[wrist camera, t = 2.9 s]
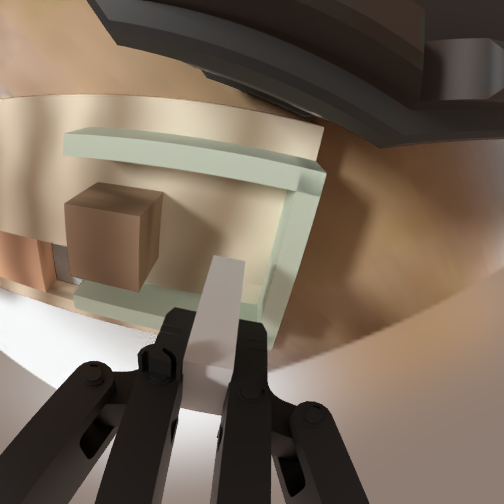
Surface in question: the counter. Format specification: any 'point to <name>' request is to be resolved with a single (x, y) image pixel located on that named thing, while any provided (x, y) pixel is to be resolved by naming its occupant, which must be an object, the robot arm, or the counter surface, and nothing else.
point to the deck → (140, 176)
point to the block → (113, 234)
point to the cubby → (220, 164)
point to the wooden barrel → (340, 58)
